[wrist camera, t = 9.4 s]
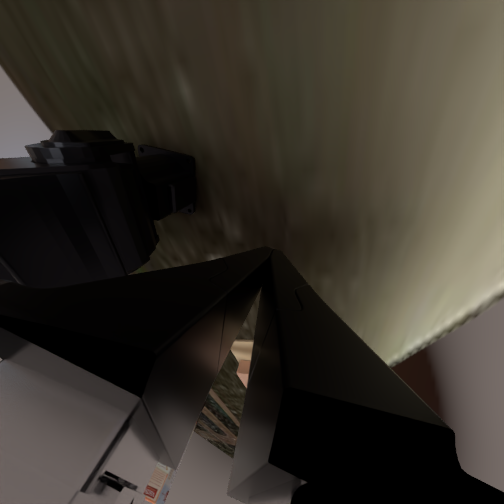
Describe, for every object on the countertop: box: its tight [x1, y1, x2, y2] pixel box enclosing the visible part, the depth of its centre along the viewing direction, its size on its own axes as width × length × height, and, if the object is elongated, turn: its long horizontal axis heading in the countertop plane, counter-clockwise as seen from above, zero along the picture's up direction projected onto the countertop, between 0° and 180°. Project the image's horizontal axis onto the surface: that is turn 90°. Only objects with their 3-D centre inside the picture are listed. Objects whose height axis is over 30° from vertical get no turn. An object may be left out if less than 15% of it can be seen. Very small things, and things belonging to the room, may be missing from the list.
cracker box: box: [143, 422, 197, 504], centre depth 62 cm, size 14×6×21 cm, turn 172°
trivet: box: [231, 339, 254, 364], centre depth 38 cm, size 18×12×1 cm, turn 20°
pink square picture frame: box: [237, 360, 251, 388], centre depth 37 cm, size 3×10×10 cm
